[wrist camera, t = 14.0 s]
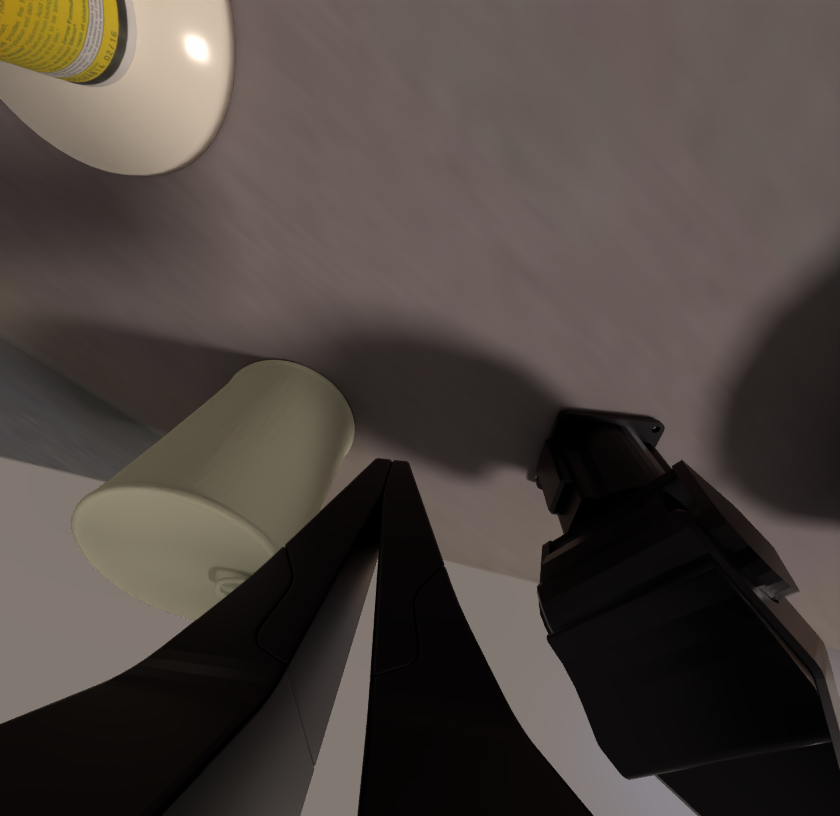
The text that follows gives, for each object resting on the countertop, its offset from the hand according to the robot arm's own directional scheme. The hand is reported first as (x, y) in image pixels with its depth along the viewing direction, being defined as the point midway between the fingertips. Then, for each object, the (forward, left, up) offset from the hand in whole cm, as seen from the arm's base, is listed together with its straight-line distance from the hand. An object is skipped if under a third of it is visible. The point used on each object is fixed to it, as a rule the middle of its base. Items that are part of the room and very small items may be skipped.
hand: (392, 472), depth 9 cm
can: (+9, +8, -13) cm, 18 cm away
